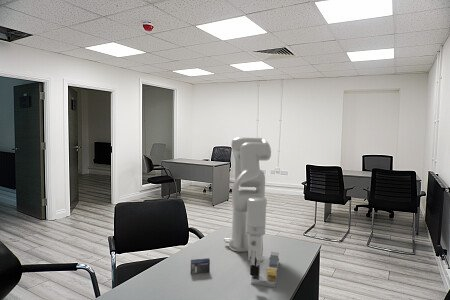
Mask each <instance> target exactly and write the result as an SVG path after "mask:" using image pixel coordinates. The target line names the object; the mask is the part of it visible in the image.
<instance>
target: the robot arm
mask: <svg viewBox="0 0 450 300" xmlns="http://www.w3.org/2000/svg"><path fill="white" fill-rule="evenodd" d="M231 152H232V155H233V157H234V163H235V165H234V182H233V184H232V188H231V189H232V190H231V206H232V207H231V208H232V221H231V222H232V223H231V225H232V227H231V229H232V230H231V237H230V238H228V237H224V239H223V241H224V243H225V244H228V248H229V250H231V251H233V252H238V253H247V252H248V253H247V254H248V255H247V256H248V257H247V258H248V260H249V261H250V265H249V268H250V269H249V275H250V276H251V277H252V276H258V274H259V265H258V264H259V262H260V261H261V259H262V256H264V235H266V221H267V219H266V217H267V205H268V201H267V198H266V196H265V192H266V175H265V172H264V171H263V170H262V169H261V168H260V161H269V160H270V159H271V157H272V149H271V146H270V143H269V142H268V141H267V140H266V139H265V138H263V137H242V136H241V137H236V138H233V139H232V141H231ZM240 188H241V189H240ZM242 188H243V189H242ZM246 188H247V189H246ZM248 188H249V189H248ZM250 188H254V189H250Z"/></svg>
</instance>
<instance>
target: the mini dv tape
mask: <svg viewBox="0 0 450 300" xmlns="http://www.w3.org/2000/svg"><path fill="white" fill-rule="evenodd" d="M210 269H211V259H210V258H207V257H206V258H198V259H197V258H196V259H190V275H200V274H210Z"/></svg>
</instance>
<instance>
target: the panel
mask: <svg viewBox="0 0 450 300" xmlns="http://www.w3.org/2000/svg"><path fill="white" fill-rule="evenodd" d="M269 257H270V256H264V255H262V259H261V261H260V262H259V263H260V275H259V277H255V276H252V275H251V278H250V284H251V285H256V286H257V285H258V286H263V287H271V288H276V286H277V280H278V279H277V277H278V272H279V271H278V270H279V264H280V260H279V261H278V265H277V267H275V266H269V262H270V260H269ZM268 267H273V268H277V273H276V276H273V275H267V269H268Z"/></svg>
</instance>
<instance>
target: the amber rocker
mask: <svg viewBox="0 0 450 300" xmlns="http://www.w3.org/2000/svg"><path fill="white" fill-rule="evenodd" d="M276 273H277V274H278V272H277V268H273V267H268V269H267V275H273V276H276Z"/></svg>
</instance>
